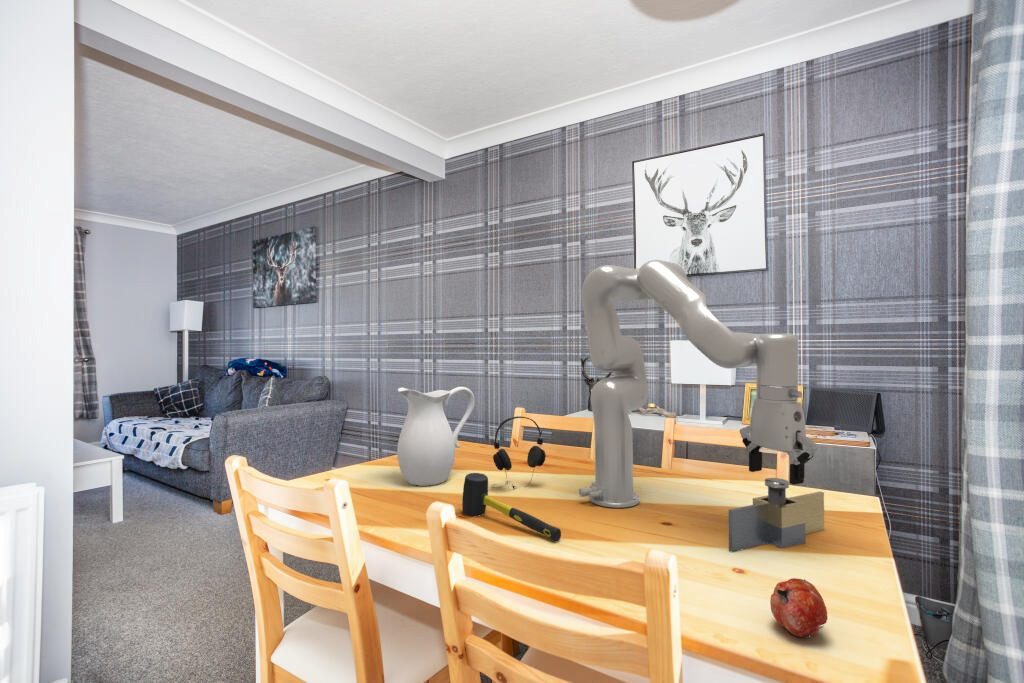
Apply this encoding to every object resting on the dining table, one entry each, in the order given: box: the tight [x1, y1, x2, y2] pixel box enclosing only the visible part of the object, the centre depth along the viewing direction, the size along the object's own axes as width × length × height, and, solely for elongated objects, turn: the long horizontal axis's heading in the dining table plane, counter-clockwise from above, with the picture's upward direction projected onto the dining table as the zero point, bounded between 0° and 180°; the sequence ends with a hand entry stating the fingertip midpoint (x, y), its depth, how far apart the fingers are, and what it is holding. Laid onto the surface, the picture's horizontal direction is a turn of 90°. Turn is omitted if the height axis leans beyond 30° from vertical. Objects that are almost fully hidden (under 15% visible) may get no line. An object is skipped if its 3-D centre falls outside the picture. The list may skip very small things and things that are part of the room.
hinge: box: [728, 491, 825, 553], centre depth 106 cm, size 27×7×8 cm, turn 114°
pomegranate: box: [769, 577, 828, 638], centre depth 73 cm, size 7×7×10 cm
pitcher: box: [396, 386, 476, 487], centre depth 155 cm, size 24×17×28 cm
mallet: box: [461, 472, 562, 542], centre depth 116 cm, size 29×6×10 cm, turn 45°
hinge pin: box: [764, 477, 790, 506], centre depth 106 cm, size 4×4×12 cm
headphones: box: [492, 415, 547, 491], centre depth 146 cm, size 15×11×20 cm
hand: (775, 477), depth 106 cm, fingers open, 9 cm apart
